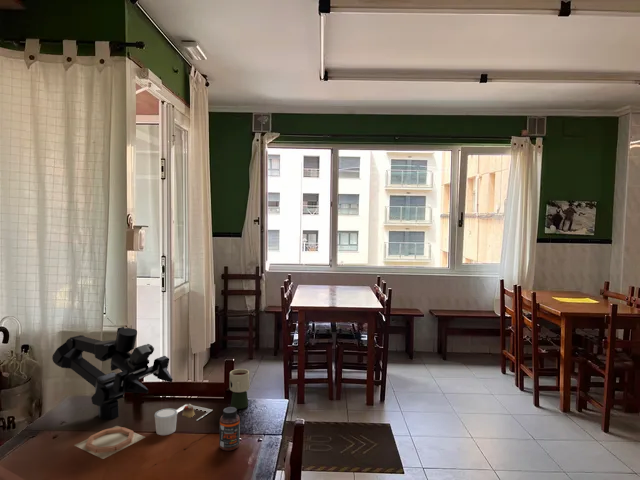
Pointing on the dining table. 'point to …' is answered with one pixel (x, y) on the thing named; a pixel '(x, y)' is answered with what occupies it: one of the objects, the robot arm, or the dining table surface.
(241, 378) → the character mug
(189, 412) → the dessert
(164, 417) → the shot glass
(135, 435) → the serving board
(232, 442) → the supplement bottle
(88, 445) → the coaster ring
